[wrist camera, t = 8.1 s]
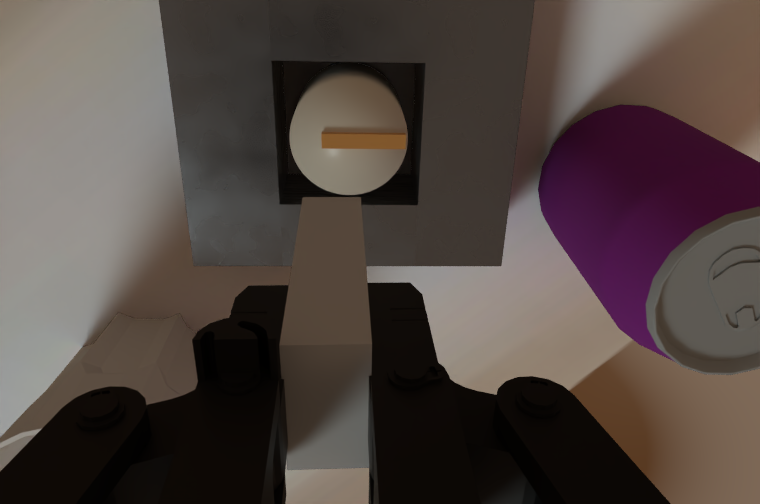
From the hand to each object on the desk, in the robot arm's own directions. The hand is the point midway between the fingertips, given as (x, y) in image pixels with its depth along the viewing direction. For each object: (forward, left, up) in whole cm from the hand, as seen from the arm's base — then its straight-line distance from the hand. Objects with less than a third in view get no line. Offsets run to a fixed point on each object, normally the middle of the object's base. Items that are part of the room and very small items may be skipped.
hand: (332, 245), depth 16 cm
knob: (0, 0, -14) cm, 14 cm away
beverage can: (+13, -3, -14) cm, 20 cm away
